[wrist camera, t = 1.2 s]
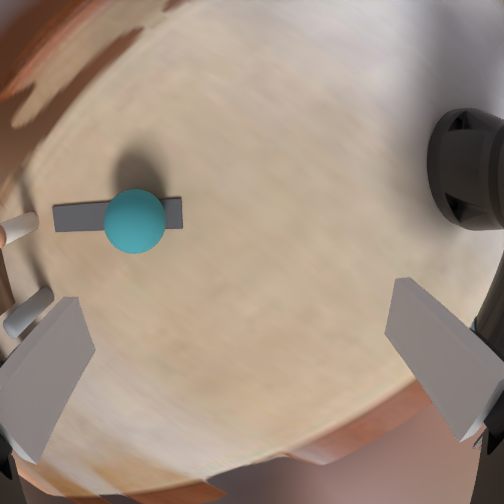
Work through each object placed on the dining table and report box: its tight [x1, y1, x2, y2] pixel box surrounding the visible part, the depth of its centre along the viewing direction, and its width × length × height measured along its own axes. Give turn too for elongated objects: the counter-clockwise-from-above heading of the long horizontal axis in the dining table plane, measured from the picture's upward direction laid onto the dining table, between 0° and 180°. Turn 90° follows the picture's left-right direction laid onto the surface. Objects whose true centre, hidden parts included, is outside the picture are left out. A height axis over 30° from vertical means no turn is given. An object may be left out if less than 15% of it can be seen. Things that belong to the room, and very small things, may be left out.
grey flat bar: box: [52, 199, 183, 232], centre depth 28 cm, size 16×3×1 cm, turn 89°
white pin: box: [0, 211, 39, 248], centre depth 23 cm, size 2×2×9 cm
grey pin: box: [3, 287, 54, 339], centre depth 27 cm, size 2×2×9 cm
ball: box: [104, 189, 166, 254], centre depth 25 cm, size 6×6×6 cm
